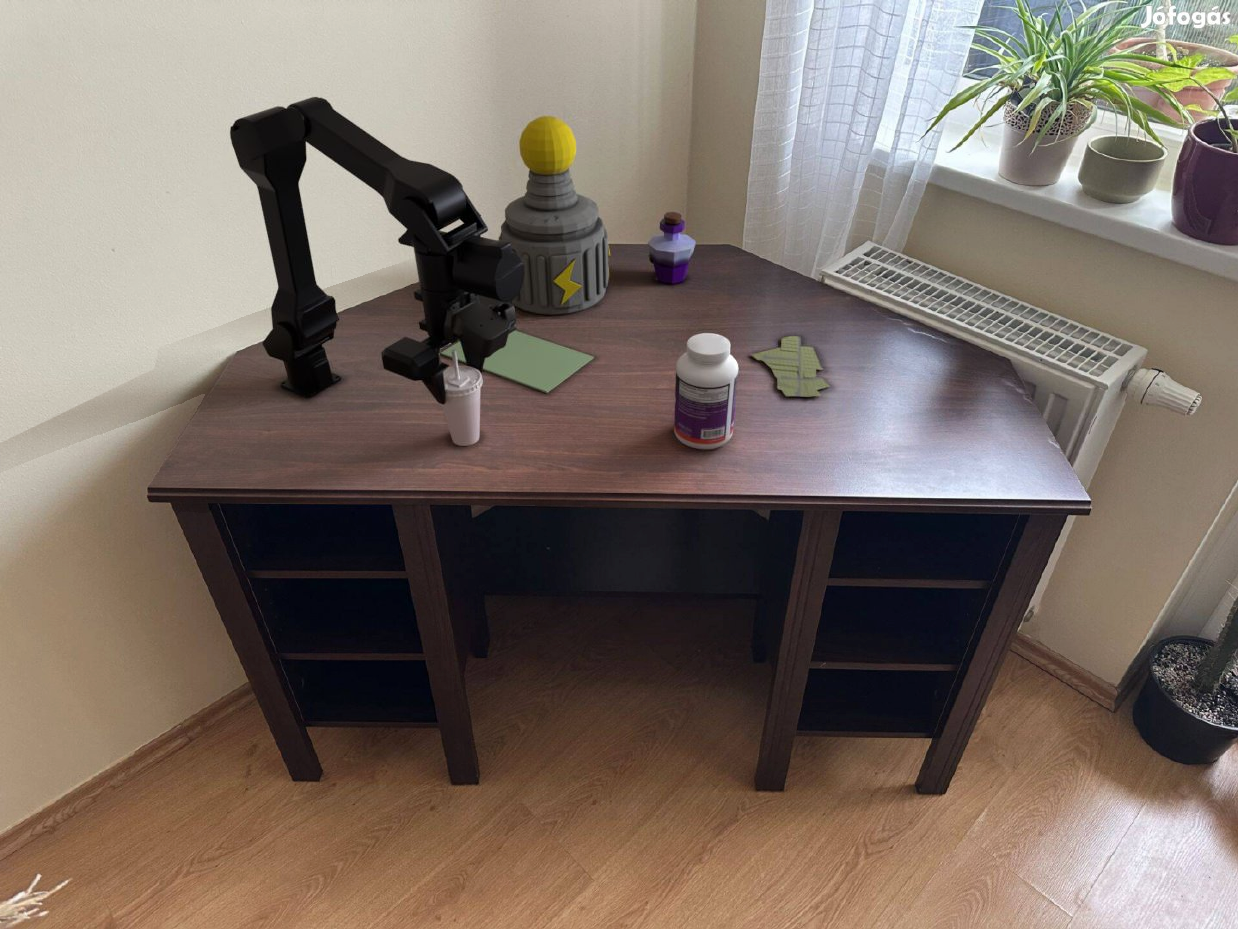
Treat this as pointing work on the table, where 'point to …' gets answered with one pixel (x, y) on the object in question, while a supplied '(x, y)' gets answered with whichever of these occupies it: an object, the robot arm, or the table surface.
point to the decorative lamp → (555, 227)
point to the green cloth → (530, 361)
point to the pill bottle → (705, 392)
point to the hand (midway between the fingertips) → (459, 391)
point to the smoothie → (462, 402)
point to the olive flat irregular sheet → (794, 367)
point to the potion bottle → (671, 250)
